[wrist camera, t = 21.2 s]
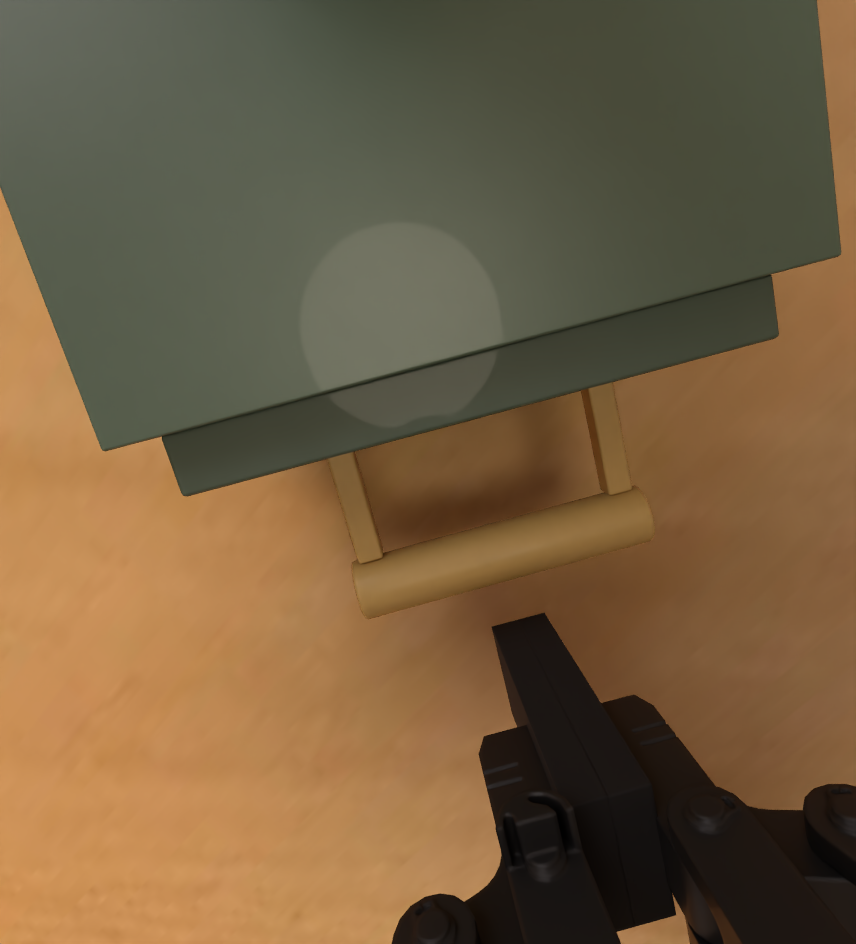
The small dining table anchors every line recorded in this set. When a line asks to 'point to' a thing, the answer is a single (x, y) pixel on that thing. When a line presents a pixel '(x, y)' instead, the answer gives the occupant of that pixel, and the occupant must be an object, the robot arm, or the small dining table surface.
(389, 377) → the drawer
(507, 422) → the small dining table surface
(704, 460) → the small dining table surface
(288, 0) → the cabinet
